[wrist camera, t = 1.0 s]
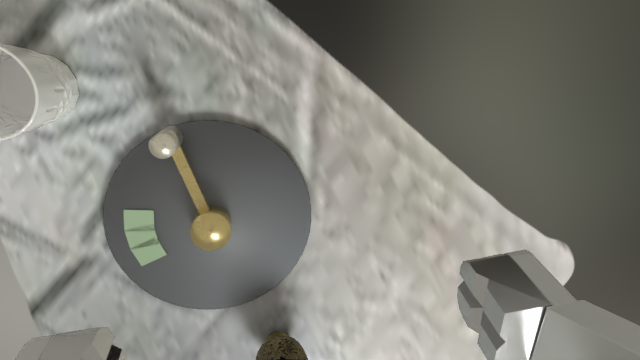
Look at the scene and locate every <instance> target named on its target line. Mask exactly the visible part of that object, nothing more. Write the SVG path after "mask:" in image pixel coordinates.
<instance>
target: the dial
mask: <svg viewBox="0 0 640 360" xmlns="http://www.w3.org/2000/svg"><path fill="white" fill-rule="evenodd" d="M175 126H176V127H178V128H180V129H181V130H182V132H183V134H184V141H183V143H182V144H181V145H182V147H183V149H184V151H185V154H186V156H187V158H188V160H189V162H190V164H191V167H192V169H193V171H194V173H195V175H196V177H197V180H198V182H199V184H200V186H201V188H202V191H203V193H204V195H205V197H206V199H207V201H208V204H209V206H210V205H215V206H220V207H222V208H224V209H225V210H226V211H227V212H228V213H229V215H230V217H231V221H232V225H231V236H230V239H229V241H228V242H227V244H226V245H225V246H223V247H222V248H220V249H218V250H214V251H207V250H203V249H201V248H199V247H197V246H196V245H195V244H194V243H193V241H192V239H191V236H190V229H191V226H192V223H193V220H194V217H195V215H196V213H197V212H198V210H197V208H196V206H195V204H194V201H193V199H192V197H191V195H190V193H189V191H188V189H187V187H186V185H185V182H184V180H183V178H182V176H181V174H180V172H179V170H178V168H177V166H176V164H175V161H174V159H173V157H172V156H170V157H169V158H166V159H159V158H157V157H155V156H153V155H152V154H151V152H150V150H149V147H148V145H149V141H150V139H151V138H152V137H153V136H155V135H156V134H157V133H159V132H157V133H156V134H154V135H152V136H151V137H149V138H148V139H146V140H144V141H143V142H142V143H141V144H139V145H138V146H137V147H136V148H134V149H133V150H132V151H131V152H130V153H129V154H128V155H127V157H126V158H125V159H124V160H123V161H122V163H121V164H120V165H119V167H118V168H117V170H116V171H115V173H114V175H113V177H112V179H111V181H110V183H109V187H108V190H107V193H106V196H105V203H104V209H103V210H104V228H105V235H106V238H107V241H108V244H109V248H110V250H111V252H112V254H113V256H114V258H115V260H116V261H117V263H118V264H119V266H120V267H121V269H122V270H123V271H124V272H125V273H126V274H127V276H128V277H129V278H130V279H131V280H132V281H133V282H135V283H136V284H137V285H138V286H139V287H140V288H142V289H143V290H145V291H146V292H148V293H149V294H151V295H153V296H155V297H157V298H159V299H161V300H163V301H166V302H168V303H171V304H174V305H178V306H182V307H186V308H194V309H221V308H228V307H232V306H237V305H240V304H243V303H246V302H249V301H251V300H253V299H255V298H258V297H260V296H262V295H263V294H265V293H266V292H268V291H270V290H271V289H272V288H274V287H275V286H276V285H277V284H279V283H280V282H281V281H282V280H283V279H284V278H285V277H286V276H287V275H288V274H289V273H290V272H291V270H292V269H293V268H294V266H295V265H296V264H297V262H298V260H299V258H300V257H301V255H302V253H303V251H304V248H305V246H306V243H307V240H308V236H309V233H310V225H311V205H310V198H309V194H308V191H307V187H306V184H305V182H304V180H303V178H302V175H301V174H300V172H299V170H298V169H297V167H296V165H295V164H294V162H293V161H292V160H291V159H290V157H289V156H288V155H287V154H286V153H285V152H284V151H283V150H282V149H281V148H280V147H279V146H278V145H277V144H275V143H274V142H273V141H271V140H270V139H268V138H267V137H266V136H264V135H262V134H260V133H258V132H256V131H254V130H252V129H249V128H247V127H244V126H241V125H237V124H233V123H229V122H222V121H194V122H187V123H182V124H179V125H175Z"/></svg>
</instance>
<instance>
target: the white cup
mask: <svg viewBox="0 0 640 360" xmlns="http://www.w3.org/2000/svg"><path fill="white" fill-rule="evenodd" d="M78 97H79V90H78V84H77V79H76V78H75V76H74V75H73V73H72V72H71V70H70V69H69V67H68V66H67V65H65V64H64V63H62V62H61V61H59V60H58V59H56V58H55V57H53V56H50V55H45V54H40V53H38V52H35V51H33V50H28V49H24V48H20V47H16V46H11V45H6V44H0V140H5V139H9V138H12V137H15V136H17V135H20V134H23V133H26V132H28V131H31V130H34V129H37V128H39V127H42V126H44V125H46V124H49V123H51V122H53V121H55V120H56V119H59V118H62V117H64V116H65V115H67V114H68V113H69V112H70V111H71V110H72V109H74V108H75V105H76V102H77V99H78Z"/></svg>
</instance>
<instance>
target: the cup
mask: <svg viewBox="0 0 640 360" xmlns="http://www.w3.org/2000/svg"><path fill="white" fill-rule="evenodd" d="M256 360H308V358H307V356H306V354H305V351H304V349H303V348H302V346H301V345H300V343H299V342H298V341H296V340H295V339H294V338H292V337H289V336H288V335H287V334H286V333H283V332H276V333H273V334H272V335H270V336H269V337H268V339H267V340H266V342H265V343H264V344H263V345H262V346H261V347H260V349H259V351H258V353H257V356H256Z"/></svg>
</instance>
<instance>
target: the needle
mask: <svg viewBox="0 0 640 360" xmlns="http://www.w3.org/2000/svg"><path fill="white" fill-rule="evenodd" d="M183 141H184V134H183V132H182V130H181V129H180V128H178V127H176V126H168V127H166V128H164V129H163V130H162V131H160V132H159V133H157V134H156V135H155V136H153V137H152V138H151V139H150V141H149V145H148V147H149V150H150V152H151V154H152V155H153V156H155V157H157V158H159V159H166V158H169V157H170V156H172V157H173V159H174V161H175V164H176V166H177V168H178V170H179V172H180V174H181V176H182V178H183V180H184V182H185V185H186V187H187V189H188V191H189V193H190V195H191V197H192V199H193V201H194V204H195V206H196V208H197V210H198V212H197V213H196V215H195V217H194V220H193V223H192V226H191V229H190V236H191V239H192V241H193V243H194V244H195V245H196V246H197V247H199V248H201V249H203V250H207V251H214V250H218V249H220V248H222V247H223V246H225V245H226V244H227V242H228V241H229V239H230V236H231V225H232V221H231V217H230V215H229V213H228V212H227V211H226V210H225V209H224V208H222V207H220V206H215V205H210V206H209V204H208V201H207V199H206V197H205V195H204V193H203V191H202V188H201V186H200V184H199V182H198V180H197V177H196V175H195V173H194V171H193V169H192V167H191V164H190V162H189V160H188V158H187V156H186V154H185V151H184V149H183V147H182V145H181V144H182V143H183Z"/></svg>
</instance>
